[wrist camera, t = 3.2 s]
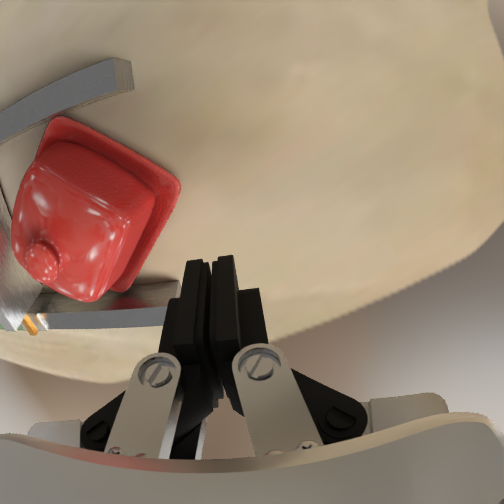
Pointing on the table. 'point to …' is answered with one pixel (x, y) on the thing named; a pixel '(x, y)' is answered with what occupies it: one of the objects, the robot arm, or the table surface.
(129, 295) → the grey open box
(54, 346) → the table surface
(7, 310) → the brushed metal plate
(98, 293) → the butter dish
